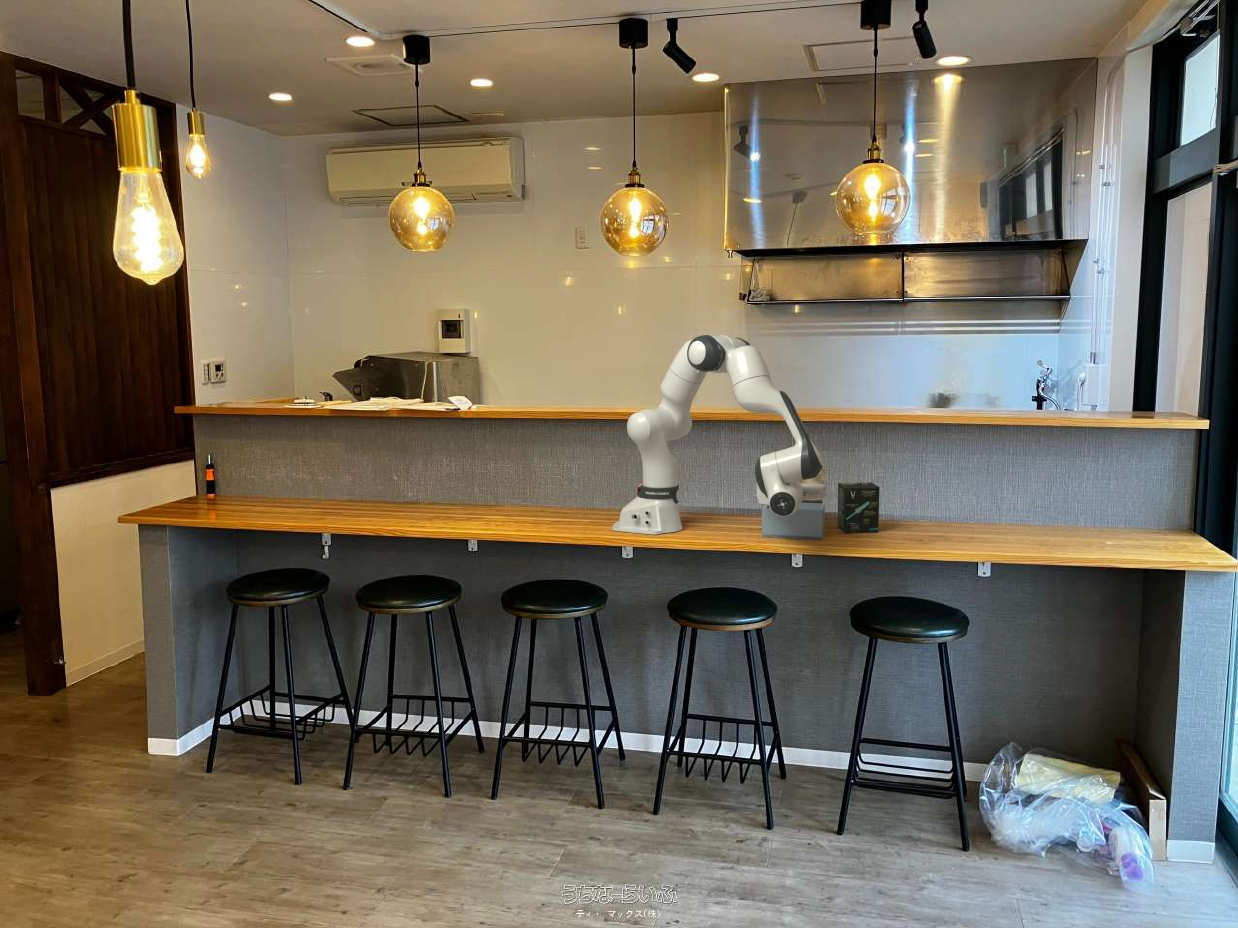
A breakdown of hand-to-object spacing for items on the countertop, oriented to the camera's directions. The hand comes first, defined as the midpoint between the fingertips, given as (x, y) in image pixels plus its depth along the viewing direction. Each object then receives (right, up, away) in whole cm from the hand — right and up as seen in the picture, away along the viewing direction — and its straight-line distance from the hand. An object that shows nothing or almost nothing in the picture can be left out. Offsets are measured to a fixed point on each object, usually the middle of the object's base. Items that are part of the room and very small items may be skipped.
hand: (792, 486), depth 288 cm
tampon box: (+23, -14, +13) cm, 30 cm away
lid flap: (+3, -5, +12) cm, 14 cm away
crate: (+1, -15, +7) cm, 17 cm away
